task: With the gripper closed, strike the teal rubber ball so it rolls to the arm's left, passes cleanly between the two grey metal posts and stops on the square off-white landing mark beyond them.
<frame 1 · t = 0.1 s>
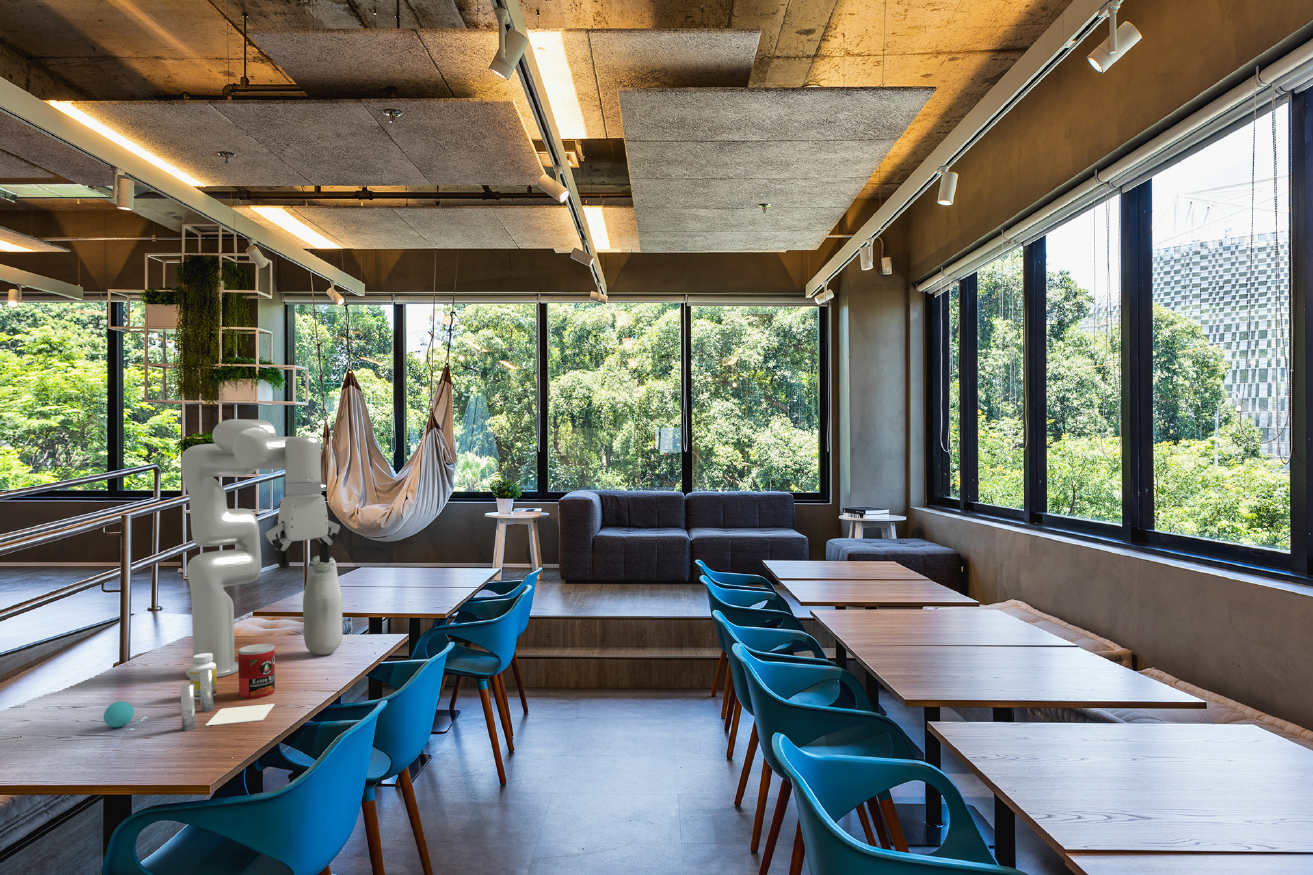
hand: (304, 565, 178), 31 cm above the table, tool pointing down, fingers open, 9 cm apart
landing mark: (241, 714, 170), on the table
canned food: (257, 694, 185), on the table
ball: (118, 714, 164), on the table
grey bottle: (323, 654, 221), on the table
post 2: (207, 710, 174), on the table
supplement bottle: (203, 697, 184), on the table
post 1: (188, 728, 162), on the table
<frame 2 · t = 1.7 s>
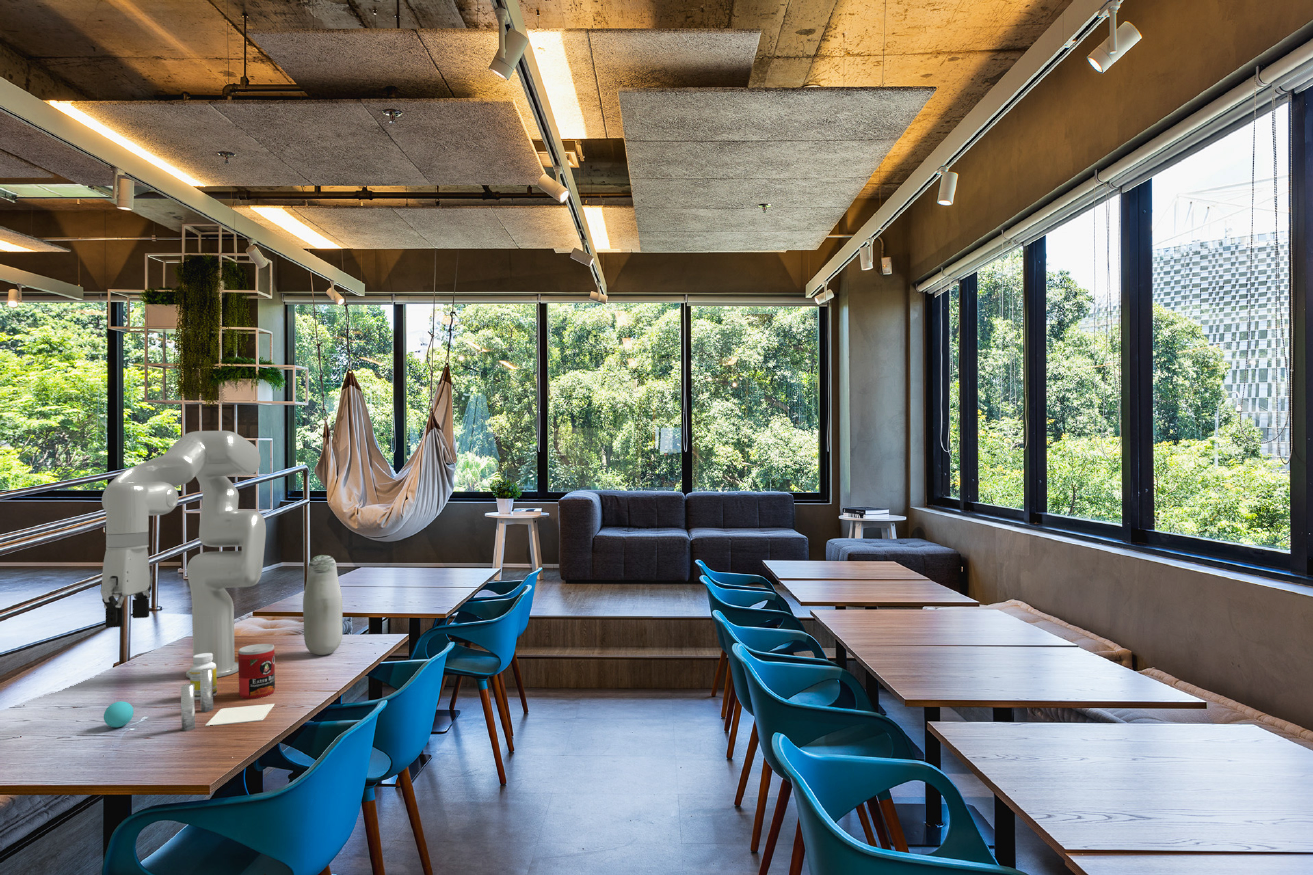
hand: (128, 622, 166), 22 cm above the table, tool pointing down, fingers open, 9 cm apart
nothing on the table moved.
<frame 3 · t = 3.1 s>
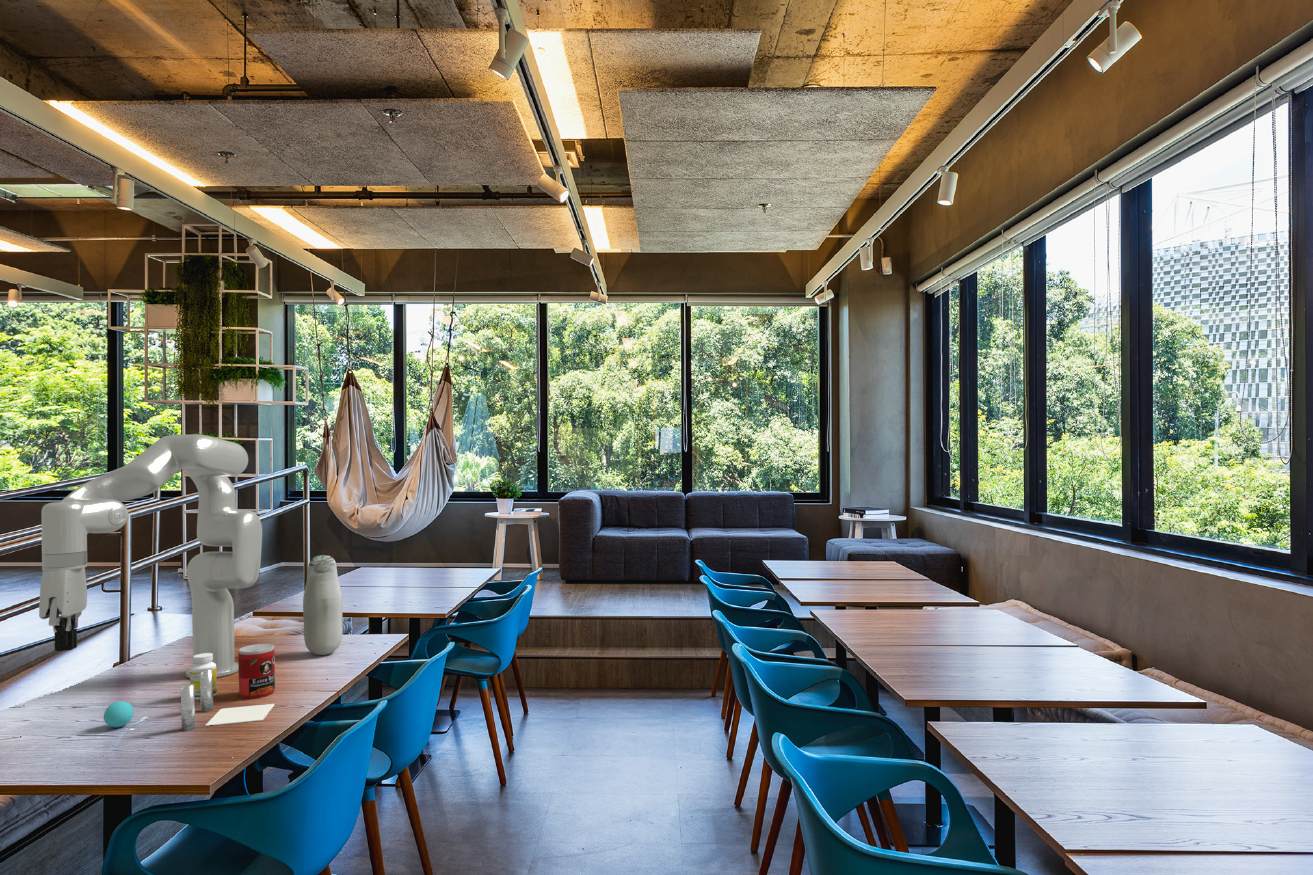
hand: (66, 649, 162), 17 cm above the table, tool pointing down, fingers closed
nothing on the table moved.
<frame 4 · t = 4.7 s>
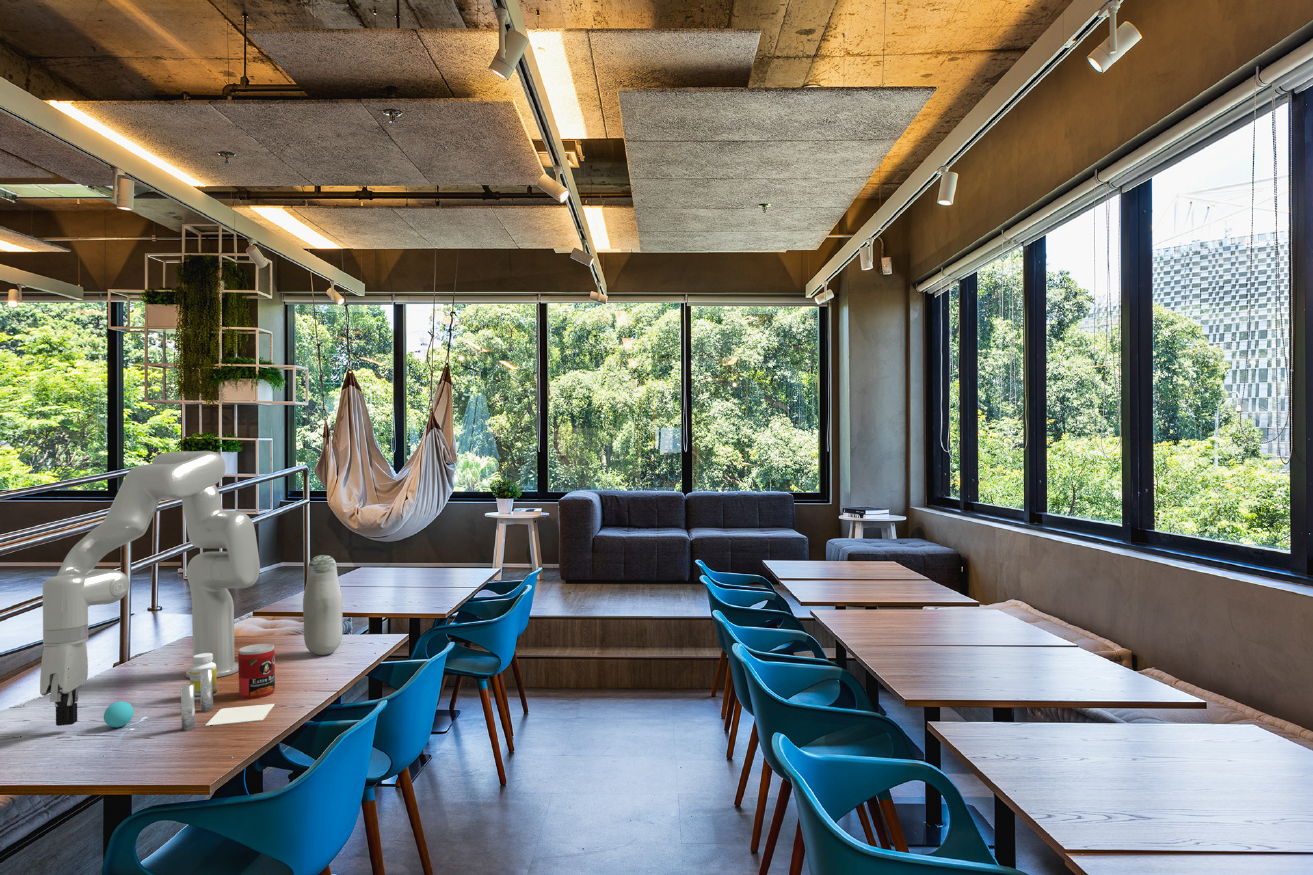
hand: (66, 723, 162), 2 cm above the table, tool pointing down, fingers closed
nothing on the table moved.
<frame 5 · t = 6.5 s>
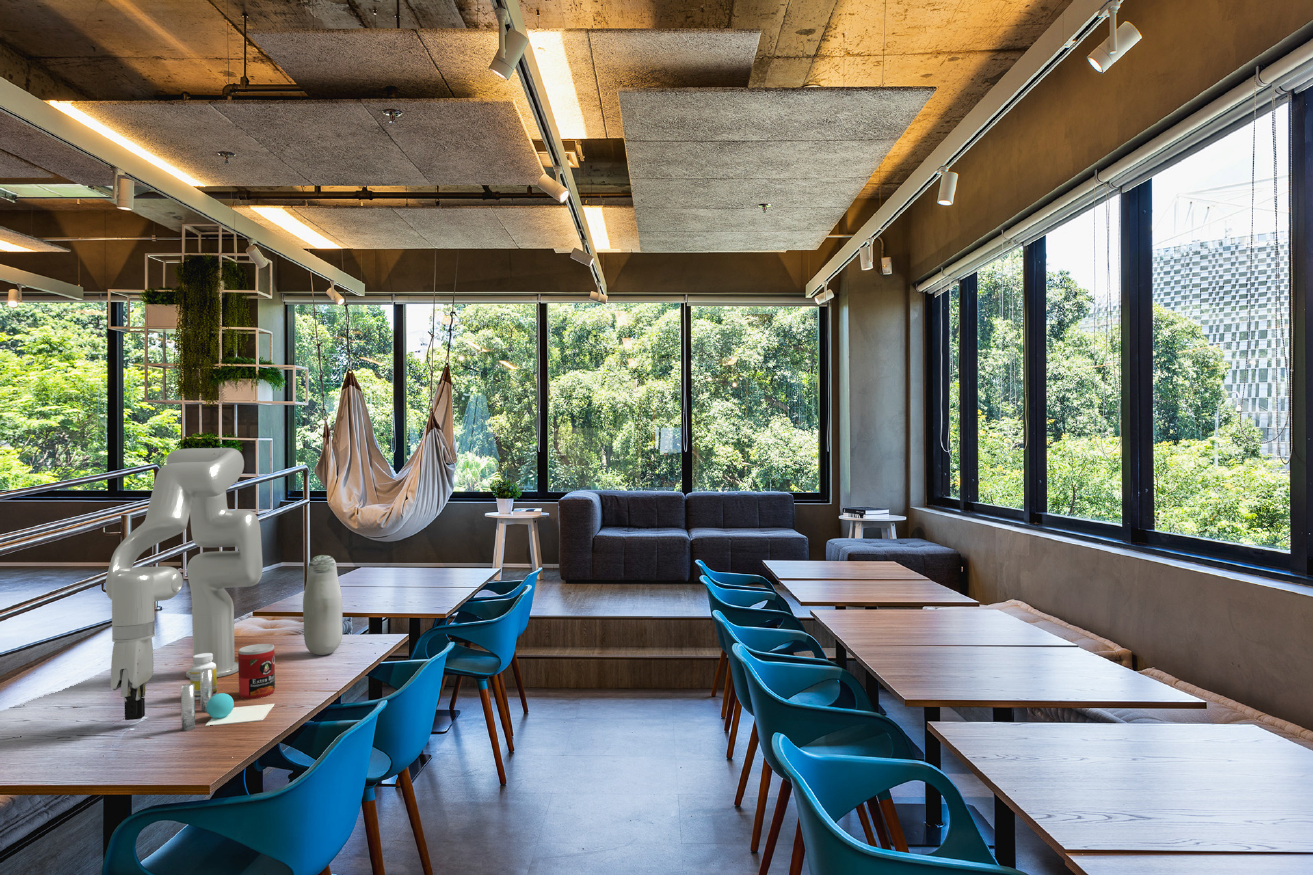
hand: (134, 717, 165), 2 cm above the table, tool pointing down, fingers closed
ball: (220, 705, 168), on the table
everything else where it was.
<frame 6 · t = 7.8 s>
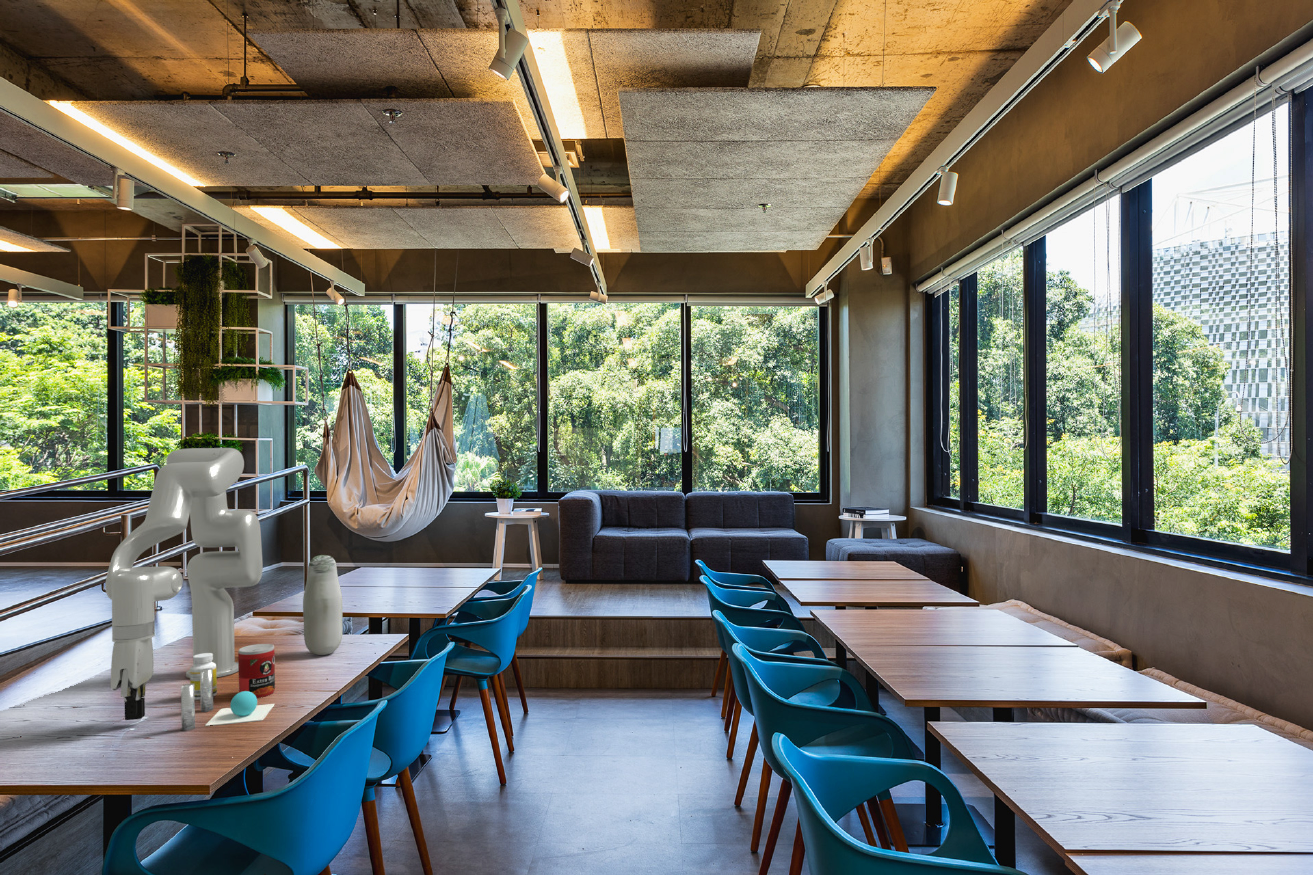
hand: (134, 717, 165), 2 cm above the table, tool pointing down, fingers closed
ball: (243, 703, 169), on the table
everything else where it was.
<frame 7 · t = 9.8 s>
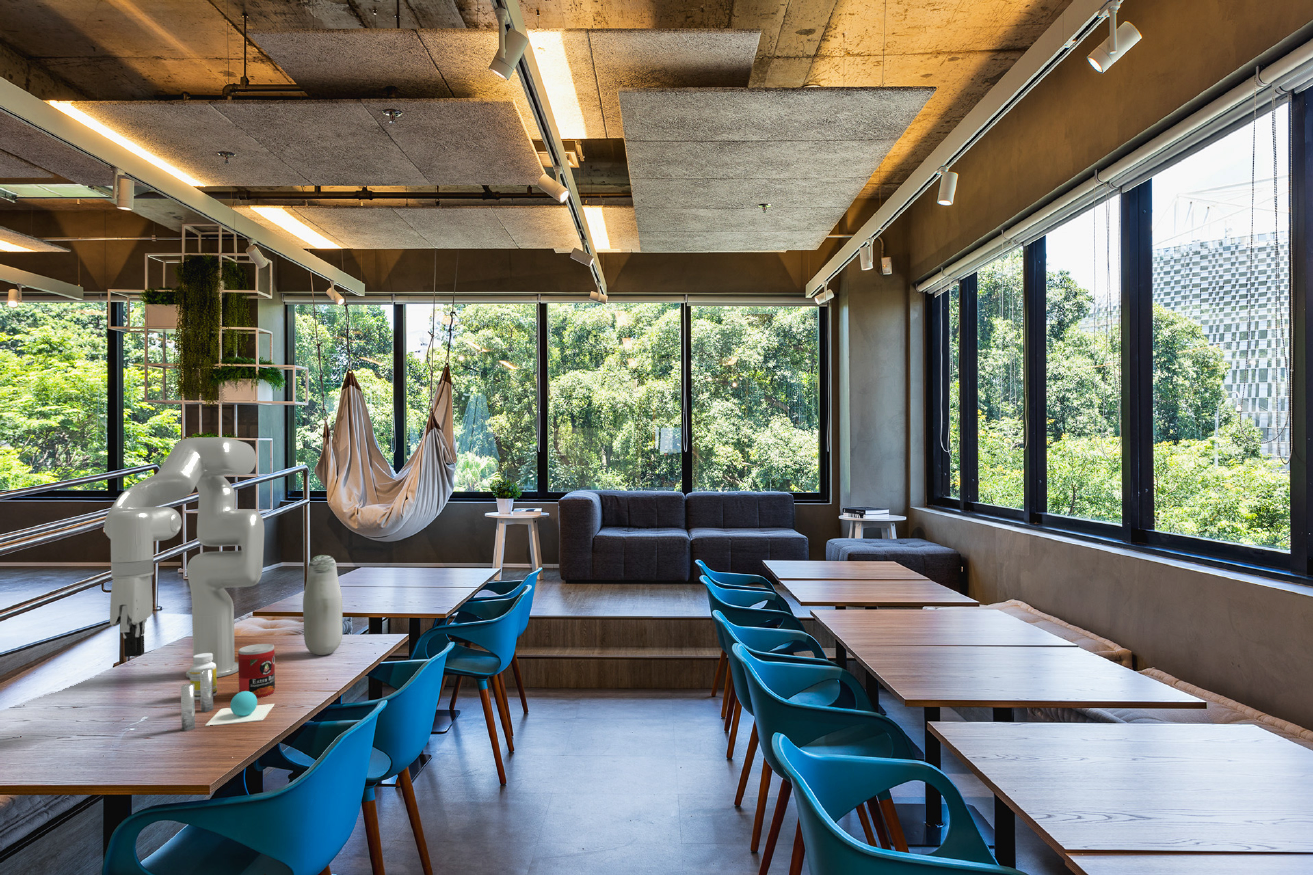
hand: (134, 655, 165), 15 cm above the table, tool pointing down, fingers closed
nothing on the table moved.
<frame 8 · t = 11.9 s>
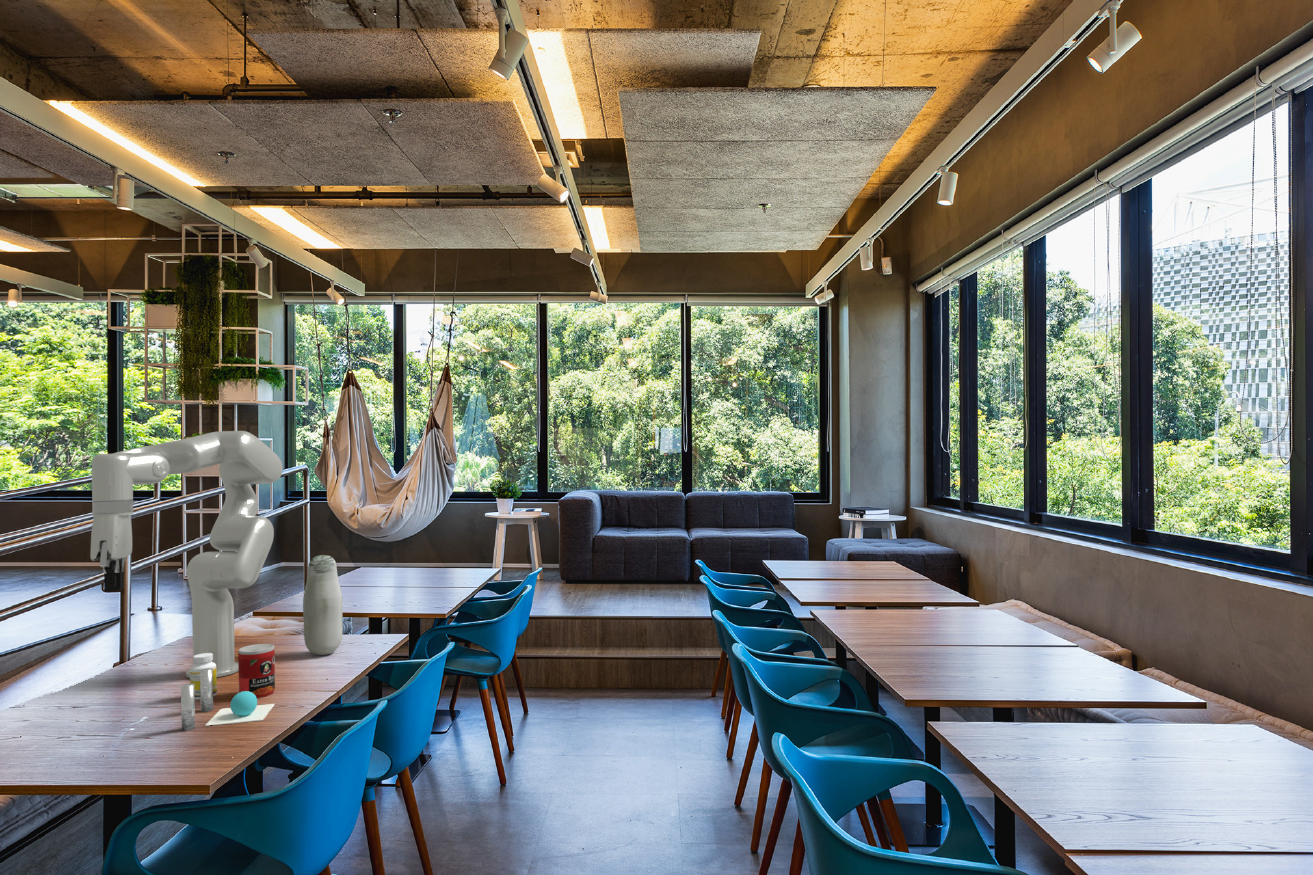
hand: (114, 590, 174), 27 cm above the table, tool pointing down, fingers closed
nothing on the table moved.
at the end: ball 1.1 cm from the landing mark (horizontally); ball never touched post 2; ball never touched post 1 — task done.
